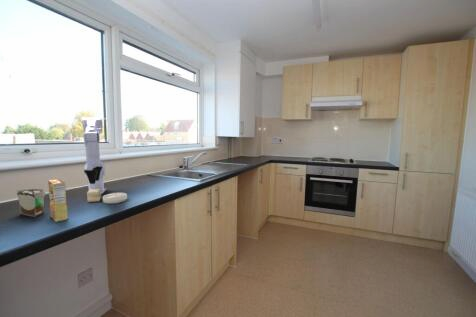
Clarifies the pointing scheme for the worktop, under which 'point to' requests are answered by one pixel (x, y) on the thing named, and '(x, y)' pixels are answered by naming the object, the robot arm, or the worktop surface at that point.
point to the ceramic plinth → (114, 198)
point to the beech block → (94, 195)
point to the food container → (31, 201)
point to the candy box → (58, 200)
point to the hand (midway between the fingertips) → (94, 182)
